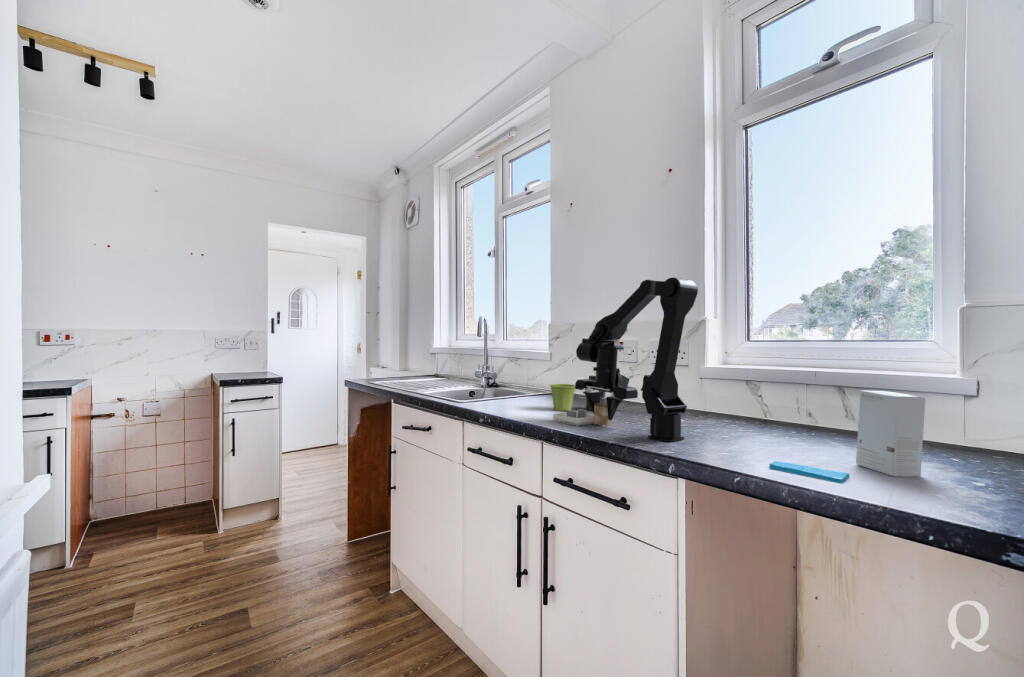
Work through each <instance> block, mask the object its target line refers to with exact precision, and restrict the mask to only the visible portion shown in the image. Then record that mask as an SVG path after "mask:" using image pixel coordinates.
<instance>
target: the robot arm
mask: <svg viewBox="0 0 1024 677" xmlns="http://www.w3.org/2000/svg"><path fill="white" fill-rule="evenodd" d="M698 290H699V289H698V286H697V285H696V283H695V282H694V281H693V280H691V279H685V278H679V277H669V278H666V280H665V281H664V280H663V281H662V280H652V279H645V280H643V281H642V282H641V283H640V284H639V287H637V288H636V290H635V291H633V293H632V294H630V296H629V297H628V298H627V299H626V300H624V302H623V303H622V304H621V305H620V306H619V307H618V308H617V309H616V310H615V311H614V312H612V313H611V314H609V315H606V316H604V317H602V318H601V319H600V320H598V321H596V324H595V325H594V328H593V330H592V332H591V334H590V335H589V337H588V338H582V339H581V340H582V341H581V342H580V343H579V344H578V346H577V348H576V358H578V360H580V361H583V362H584V361H585V362H589V363H596V366H593V368H592V369H593V370H592V371H594V372H595V376H596V381H595V380H590V379H589V378H584V379H577V380H576V381H575V384H574V385H575V390H579V391H582V394H584V395H585V398H586V397H587V399H588V401H589V403H590V406H591V408H592V411H591V412H592V413H593V414H594V403H600V397H601V395H602V393H603V392H600V391H604V392H605V393H610V394H611V395H610V396H606V404H607V411H608V419H609V420H611V421H612V420H613V419H614V417H615V414H616V412H617V409H618V407H619V406H620V404H621V402H622V401H624V400H629V399H631V400H632V399H638V393H639V391H638V390H637V388H636V387H633V386H629V384H630V383H629V382H630V381H631V380H630V378H629V377H626V376H625V375H623V374H621V370H620V368H618V366H617V365H618V351H620V350H624V349H625V347H624V345H622V344H621V343H620V341H619V340H621V339H622V337H623V336H624V334H625V333H626V332H627V330H628V325H629V324H630V322H632V320H633V319H635V317H637V315H639V314H640V312H641V313H642V311H643V310H644V309H645V308H646V307H647V306H648V305H649V304H650V303H651V302H652V301H653V300H654V299H655V298H656V297H658V296H659V297H660V300H659V302H660V305H661V308H662V311H663V318H662V323H661V324H662V325H661V330H660V334H659V339H658V344H657V345H658V346H657V350H656V355H655V356H656V357H655V362H654V368H653V371H652V372H651V373H650V374H644V375H643V379H642V387H641V388H640V391H641V392H642V393H641V397H642V400H643V402H644V405H645V409H646V413H647V414H650V415H651V417H650V419H649V420H650V421H649V423H650V424H649V434H648V435H647V438H648V439H649V438H650V439H653V440H659V441H663V442H669V443H670V442H676V441H680V440H685V436H683V435H682V415H685V414H686V411H687V408H688V406H687V404H686V403H685V401H684V400H683V399H682V397H681V396H680V395H679V383H678V380H677V378H676V374H675V372H676V368H677V367H676V366H677V361H678V356H679V350H680V345H681V340H682V335H683V330H684V324H685V318H686V316H687V315H688V313H689V312H690V311H691V310H692V308H693V307H694V304H695V301H696V298H697V295H698V293H699V292H698ZM583 390H584V391H583Z"/></svg>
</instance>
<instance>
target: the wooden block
mask: <svg viewBox="0 0 1024 677" xmlns="http://www.w3.org/2000/svg"><path fill="white" fill-rule="evenodd" d="M593 414H594V424H593V425H596V424H600V425H599V426H602V425H605V426H604V427H607V426H606V425H609V426H612V425H611V422H612V420H609V419H608V411H607V402H605V403H594V413H593Z"/></svg>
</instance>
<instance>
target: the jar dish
mask: <svg viewBox="0 0 1024 677" xmlns="http://www.w3.org/2000/svg"><path fill="white" fill-rule="evenodd" d="M552 421H553V422H556V421H557V423H560V422H562V423H561V424H565V423H567V424H566V425H570V424H571V425H570V426H575V425H576V426H575V427H581V426H580V425H582V426H587V425H586V424H589V425H594V424H593V423H594V413H593V414H592V413H588V410H586V409H579V408H578V409H577V410H576V411H575V410H571V411H566V412H560V413H553V415H552Z"/></svg>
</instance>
